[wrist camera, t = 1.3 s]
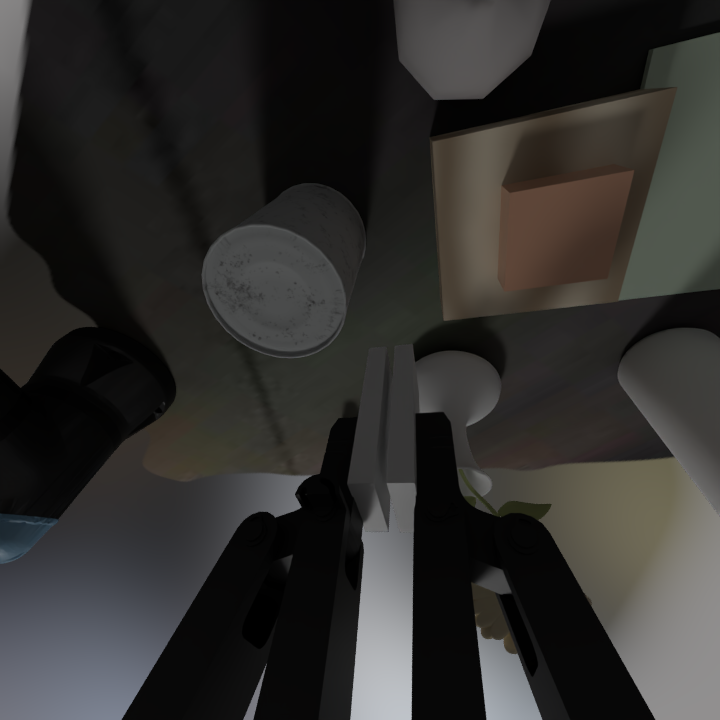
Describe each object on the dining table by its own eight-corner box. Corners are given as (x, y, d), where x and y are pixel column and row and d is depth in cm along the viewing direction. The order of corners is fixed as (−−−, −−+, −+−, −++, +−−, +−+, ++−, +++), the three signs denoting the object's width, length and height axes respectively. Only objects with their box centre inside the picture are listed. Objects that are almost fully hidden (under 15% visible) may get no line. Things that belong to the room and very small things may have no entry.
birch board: (440, 300, 34) (443, 320, 30) (429, 137, 26) (432, 141, 22) (596, 281, 31) (617, 301, 27) (640, 89, 23) (677, 86, 19)
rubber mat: (591, 300, 32) (594, 303, 31) (649, 49, 21) (653, 48, 21) (759, 281, 29) (763, 283, 29) (917, -17, 19) (929, -20, 18)
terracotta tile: (497, 278, 27) (504, 291, 26) (501, 185, 23) (509, 192, 21) (592, 265, 26) (607, 278, 24) (614, 164, 22) (634, 169, 20)
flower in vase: (397, 411, 44) (388, 661, 24) (401, 339, 37) (393, 607, 17) (500, 418, 43) (579, 689, 23) (524, 344, 36) (667, 642, 16)
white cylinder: (308, 155, 27) (252, 184, 18) (387, 241, 31) (377, 304, 21) (246, 237, 32) (176, 295, 22) (321, 303, 35) (288, 378, 26)
